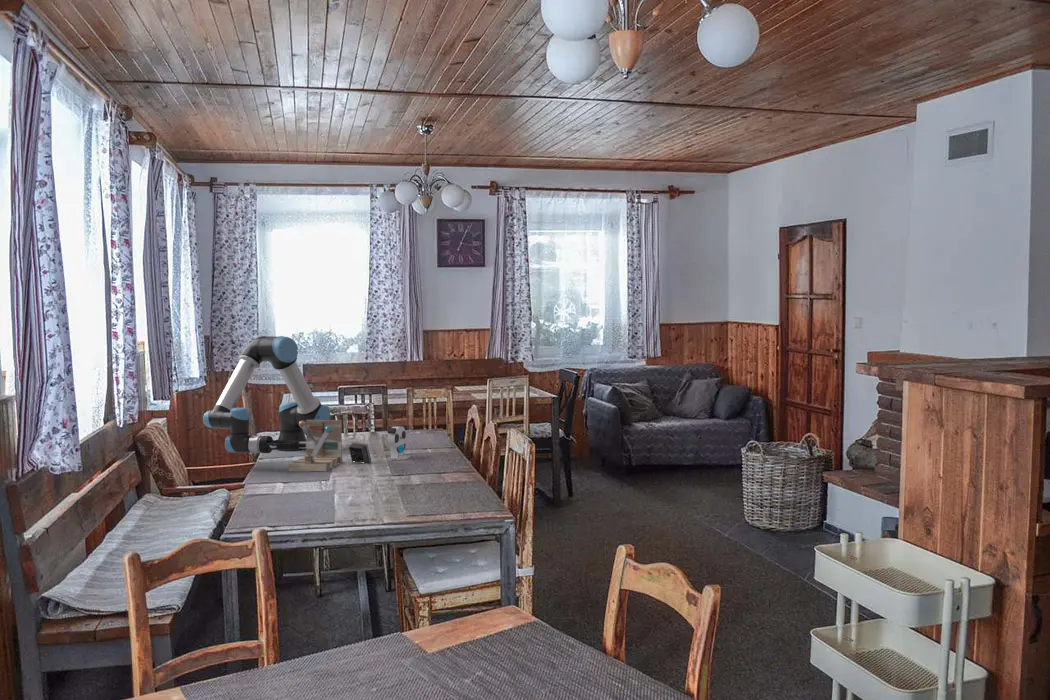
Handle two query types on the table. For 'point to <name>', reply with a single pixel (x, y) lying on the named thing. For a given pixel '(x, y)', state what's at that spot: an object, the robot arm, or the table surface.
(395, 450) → the panda figurine
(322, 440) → the teal lever
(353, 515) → the table surface
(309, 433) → the terracotta lever
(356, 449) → the electrical switch
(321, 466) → the switch unit
